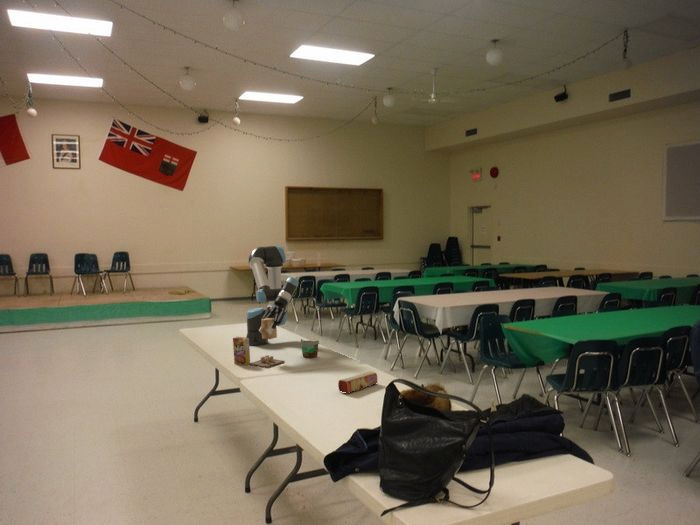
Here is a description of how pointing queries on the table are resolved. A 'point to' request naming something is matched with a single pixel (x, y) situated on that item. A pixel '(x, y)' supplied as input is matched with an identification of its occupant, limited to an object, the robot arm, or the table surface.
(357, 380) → the snack package
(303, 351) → the food container
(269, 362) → the peg stand
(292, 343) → the table surface
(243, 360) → the candy box
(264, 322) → the oak block
